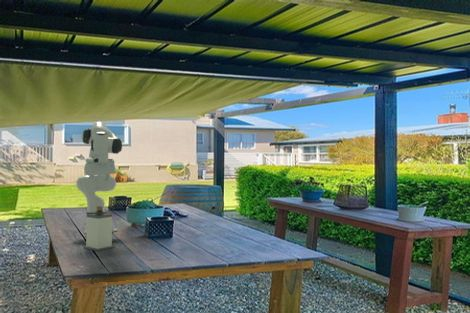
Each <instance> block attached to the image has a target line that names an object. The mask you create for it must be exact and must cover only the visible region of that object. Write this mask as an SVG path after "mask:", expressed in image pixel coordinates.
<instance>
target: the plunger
mask: <svg viewBox="0 0 470 313" xmlns="http://www.w3.org/2000/svg"><path fill="white" fill-rule="evenodd" d="M105 212H106V211H105ZM105 212H103V206H97V212H95V214H98V215H101V214H105Z"/></svg>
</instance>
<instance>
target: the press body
mask: <svg viewBox="0 0 470 313" xmlns="http://www.w3.org/2000/svg"><path fill="white" fill-rule="evenodd" d="M108 213H109V212H108ZM108 213H105V214H101V215H98V214H95V213H93V214H87V213H86V224H87V228H86V227H85V229H86V233H85V234H86V238H85V240H86V241H85V246H83V249H85V250H91V251H95V252H101V251H105V250H109V249H114V248H115V245H112V243H113V242H112V241H113V239H112V238H113V232H112V222H113V214H112V213H109V214H108Z"/></svg>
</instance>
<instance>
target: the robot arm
mask: <svg viewBox="0 0 470 313" xmlns="http://www.w3.org/2000/svg"><path fill="white" fill-rule="evenodd" d="M81 140H82V142H83V144H86V145H90V147H89V148H90V149H89V153H88V156H89V157H87V158H85V160H84V161H85V164H84V175H81V176H79V177H78V178H77V179H76V182H75V183H76V188H77V190H78V191H80V192H81V193H82V194H83V195H84V196H85V198H86V204H87V210H86V211H87V212H86V215H87V214H93V213H95V212H97V206H103V212H105V213H108V214H110V212H109V211H105V200H104V198H103V197H101V196H99V195H97V194H96V192H98V193H99V192H100V193H101V192H102V193H103V192H106V193H107V192H111V191H114V190H115V188H116V187H117V181H116V178H115V177H114V176H112V175H113V174H114V175H115V172H116V165H115V160H114V159H113V158H109V154H115V155H118V154H119V153H120V152H122V150H123V142H122V140H121V139H120V137H118V136H117V134H116V133H115V132H114V131H112V130H110V129H109V128H108V126H107V125H106V123H104V122H103V121H96V122H94V123H93V124H92V126H91V128H89V127H88V128H86V129H84V130H83V131H82V133H81ZM114 223H115V222H113V221H112V233H113V232H116V231H117V232H118V228H115V225H114ZM86 228H87V223H86V224H85V230H84V234H86Z"/></svg>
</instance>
